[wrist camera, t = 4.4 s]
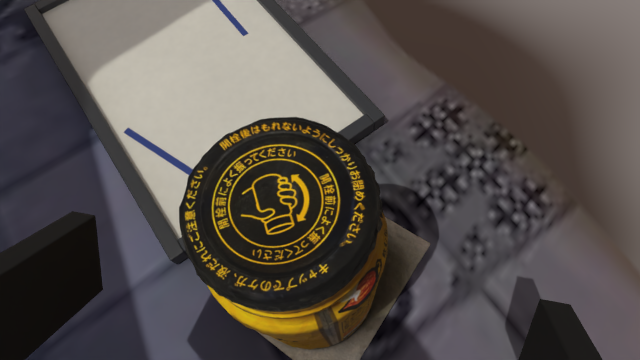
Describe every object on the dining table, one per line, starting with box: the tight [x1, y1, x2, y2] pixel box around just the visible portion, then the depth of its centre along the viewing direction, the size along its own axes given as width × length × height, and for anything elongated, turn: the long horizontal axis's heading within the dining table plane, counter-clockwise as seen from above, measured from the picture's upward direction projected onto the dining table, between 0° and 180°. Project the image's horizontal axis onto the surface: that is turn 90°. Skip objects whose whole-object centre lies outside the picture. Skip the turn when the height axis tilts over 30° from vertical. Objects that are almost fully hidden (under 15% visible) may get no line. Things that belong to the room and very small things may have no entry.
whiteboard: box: [24, 0, 384, 264], centre depth 27 cm, size 22×14×1 cm, turn 36°
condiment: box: [179, 117, 430, 360], centre depth 16 cm, size 7×8×12 cm
